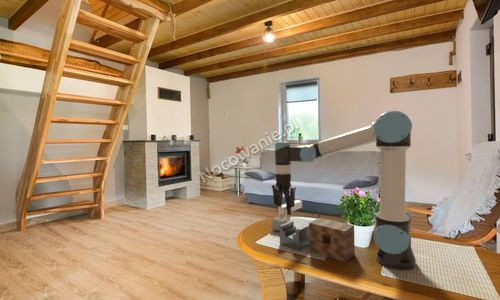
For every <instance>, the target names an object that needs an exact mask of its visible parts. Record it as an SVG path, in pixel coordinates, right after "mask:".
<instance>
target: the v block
mask: <svg viewBox="0 0 500 300" xmlns="http://www.w3.org/2000/svg"><path fill="white" fill-rule="evenodd" d="M294 222H295V221H293V220H289V221H288V222H286V223H284V224H282V225H279V227H280V231H279V244H280V245H281V246H285V247H286V248H287V247H288V248H290V249H293V250H297V251H301V250H303V249H305V248H306V247H308V246H310V243H309V224H304V225H302V226H300V227H298V228H297V225H295V223H294Z"/></svg>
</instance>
